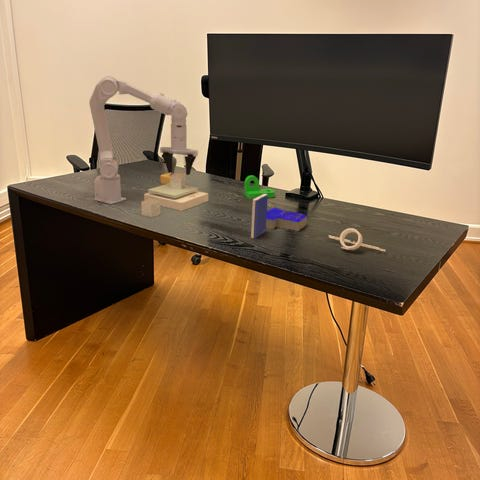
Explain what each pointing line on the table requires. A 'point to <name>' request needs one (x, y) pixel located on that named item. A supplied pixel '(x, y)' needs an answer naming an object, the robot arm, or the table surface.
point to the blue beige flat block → (285, 219)
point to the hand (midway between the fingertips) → (179, 173)
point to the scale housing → (179, 200)
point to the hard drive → (259, 215)
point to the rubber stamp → (166, 177)
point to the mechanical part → (256, 189)
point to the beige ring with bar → (353, 241)
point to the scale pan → (172, 191)
